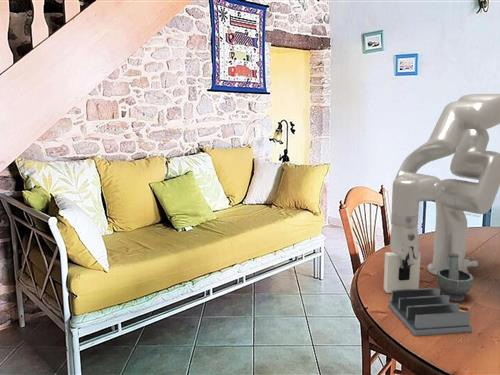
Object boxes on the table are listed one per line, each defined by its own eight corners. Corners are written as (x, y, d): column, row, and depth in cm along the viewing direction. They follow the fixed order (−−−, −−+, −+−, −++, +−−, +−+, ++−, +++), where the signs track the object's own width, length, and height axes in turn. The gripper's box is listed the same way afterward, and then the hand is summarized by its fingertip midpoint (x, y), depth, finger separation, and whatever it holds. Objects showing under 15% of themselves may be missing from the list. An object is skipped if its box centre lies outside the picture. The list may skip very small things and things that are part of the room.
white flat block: (383, 289, 136) (385, 252, 134) (414, 287, 137) (416, 250, 135) (386, 293, 134) (388, 255, 131) (418, 290, 135) (420, 253, 132)
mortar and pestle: (473, 306, 125) (477, 266, 123) (437, 301, 128) (440, 262, 126) (466, 289, 136) (470, 252, 133) (433, 286, 139) (436, 249, 136)
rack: (388, 306, 126) (389, 289, 125) (438, 302, 127) (439, 286, 126) (414, 335, 110) (415, 317, 109) (471, 331, 112) (473, 313, 111)
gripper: (430, 226, 123) (426, 288, 127) (404, 211, 139) (401, 266, 143) (404, 228, 123) (401, 290, 127) (381, 213, 138) (379, 268, 142)
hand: (401, 277), depth 135 cm, fingers closed on white flat block, 2 cm apart
